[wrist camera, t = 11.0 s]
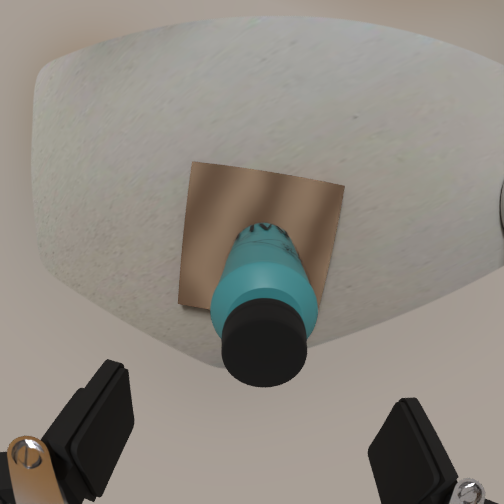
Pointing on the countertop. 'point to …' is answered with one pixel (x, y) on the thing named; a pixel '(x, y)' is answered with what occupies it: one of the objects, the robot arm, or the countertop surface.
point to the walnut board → (253, 222)
